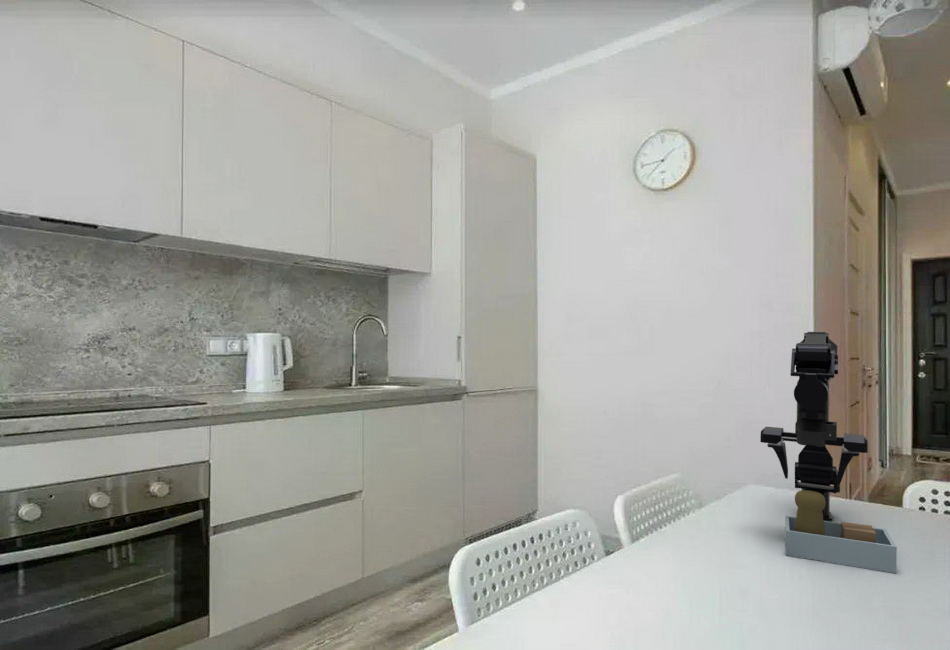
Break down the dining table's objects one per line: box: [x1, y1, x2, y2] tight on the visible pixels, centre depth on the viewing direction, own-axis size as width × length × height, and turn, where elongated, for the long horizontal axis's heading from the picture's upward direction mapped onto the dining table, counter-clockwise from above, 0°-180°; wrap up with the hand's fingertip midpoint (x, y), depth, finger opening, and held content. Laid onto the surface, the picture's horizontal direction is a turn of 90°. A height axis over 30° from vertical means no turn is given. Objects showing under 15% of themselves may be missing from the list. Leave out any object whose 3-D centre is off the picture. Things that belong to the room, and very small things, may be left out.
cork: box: [794, 489, 826, 536], centre depth 114 cm, size 6×6×11 cm
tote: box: [784, 515, 897, 574], centre depth 113 cm, size 11×17×5 cm, turn 63°
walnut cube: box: [840, 521, 876, 543], centre depth 112 cm, size 5×5×5 cm
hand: (811, 481), depth 121 cm, fingers open, 9 cm apart
